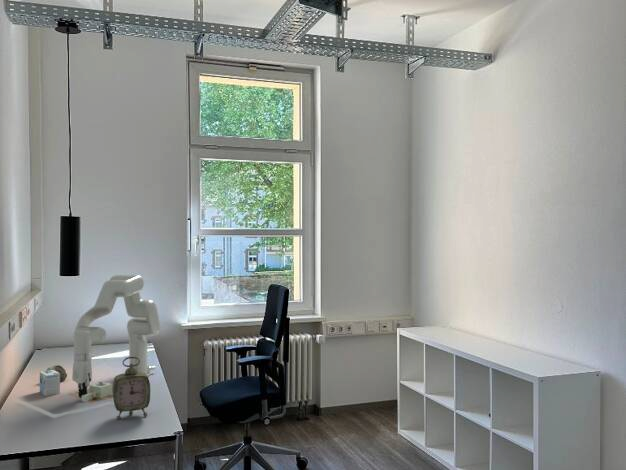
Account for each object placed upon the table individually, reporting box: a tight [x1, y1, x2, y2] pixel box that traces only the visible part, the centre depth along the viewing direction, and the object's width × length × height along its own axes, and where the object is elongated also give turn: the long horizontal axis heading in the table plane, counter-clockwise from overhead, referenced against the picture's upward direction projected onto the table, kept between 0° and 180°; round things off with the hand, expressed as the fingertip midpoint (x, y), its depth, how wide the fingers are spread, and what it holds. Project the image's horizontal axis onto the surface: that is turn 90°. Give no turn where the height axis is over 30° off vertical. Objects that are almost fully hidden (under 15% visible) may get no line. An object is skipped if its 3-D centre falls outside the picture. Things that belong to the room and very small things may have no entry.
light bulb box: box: [39, 370, 61, 397], centre depth 270 cm, size 11×7×11 cm, turn 40°
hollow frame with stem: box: [81, 382, 113, 402], centre depth 261 cm, size 14×7×5 cm, turn 155°
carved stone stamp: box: [45, 364, 68, 383], centre depth 296 cm, size 11×9×10 cm
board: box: [68, 384, 113, 403], centre depth 268 cm, size 22×22×1 cm
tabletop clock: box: [112, 356, 151, 421], centre depth 237 cm, size 14×9×25 cm, turn 114°
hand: (82, 397), depth 258 cm, fingers closed
